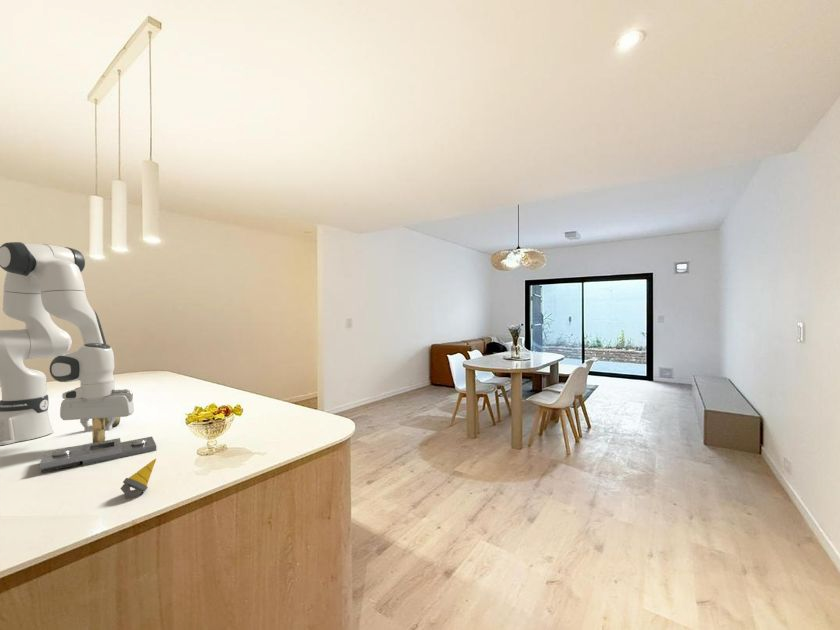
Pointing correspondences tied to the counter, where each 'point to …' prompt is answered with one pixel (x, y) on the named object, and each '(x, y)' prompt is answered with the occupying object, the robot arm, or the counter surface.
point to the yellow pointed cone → (138, 481)
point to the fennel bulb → (114, 421)
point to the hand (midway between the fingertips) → (98, 430)
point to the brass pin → (98, 429)
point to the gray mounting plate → (95, 453)
